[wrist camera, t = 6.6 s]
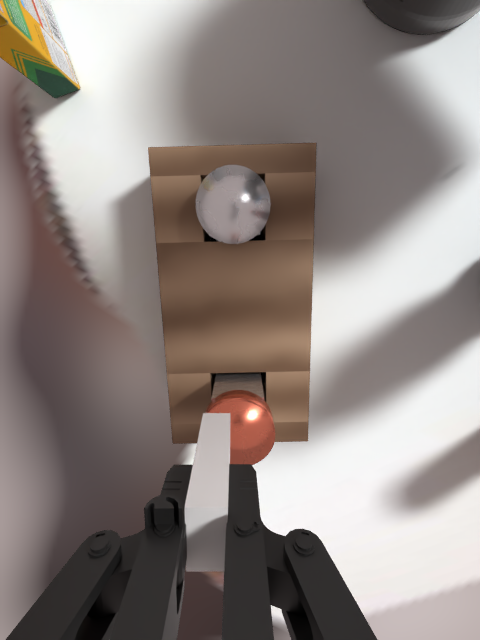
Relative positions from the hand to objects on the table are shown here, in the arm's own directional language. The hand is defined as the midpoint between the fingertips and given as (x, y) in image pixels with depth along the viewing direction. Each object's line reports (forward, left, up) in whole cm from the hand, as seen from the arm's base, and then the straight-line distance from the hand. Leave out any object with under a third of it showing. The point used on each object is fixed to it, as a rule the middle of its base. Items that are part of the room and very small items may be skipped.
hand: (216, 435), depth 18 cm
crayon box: (-28, -16, -20) cm, 38 cm away
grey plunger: (-13, +1, -19) cm, 23 cm away
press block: (-4, +1, -20) cm, 20 cm away
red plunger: (+5, +1, -15) cm, 16 cm away
